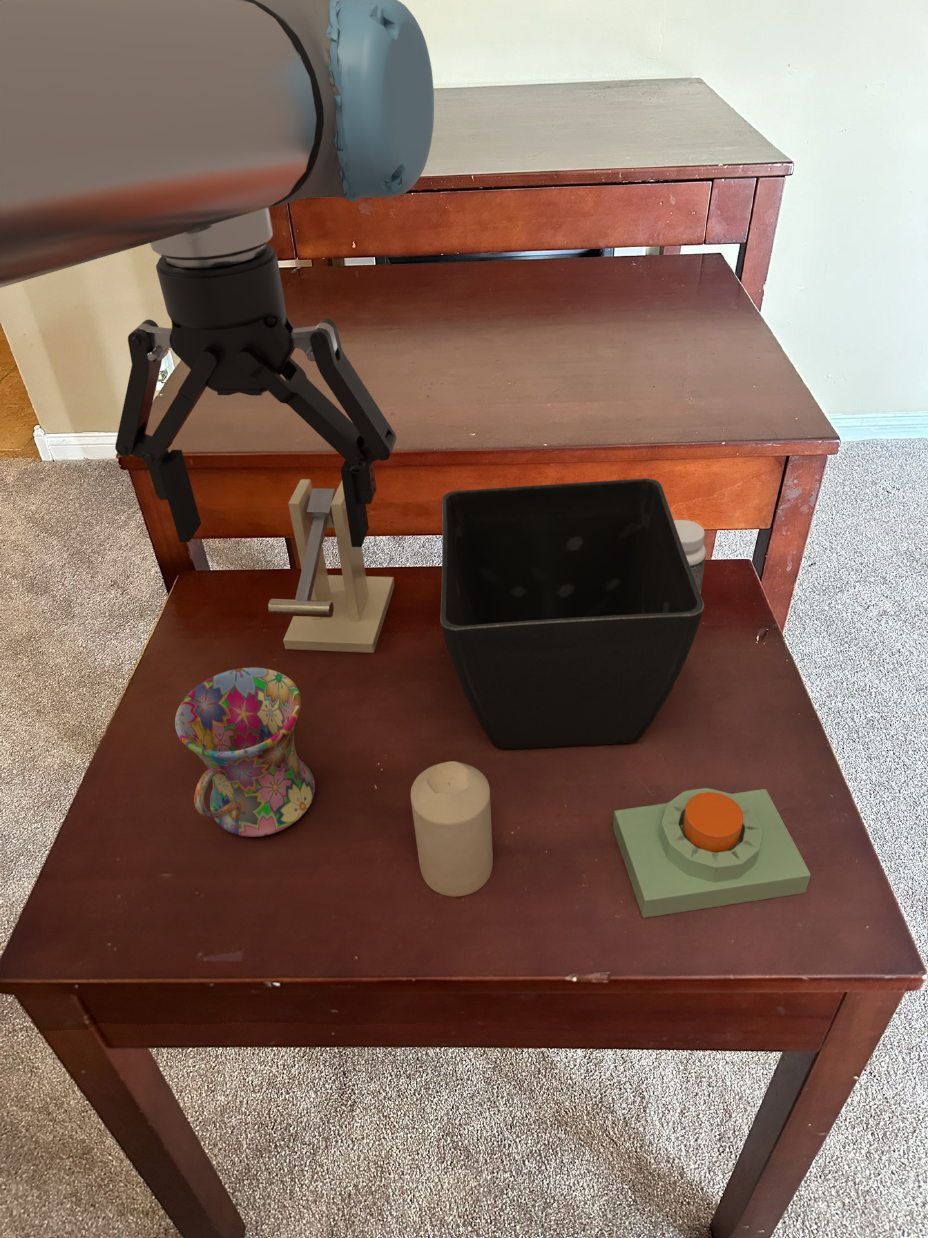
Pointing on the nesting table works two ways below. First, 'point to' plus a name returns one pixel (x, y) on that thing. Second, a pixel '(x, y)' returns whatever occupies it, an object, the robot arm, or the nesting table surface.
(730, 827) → the button
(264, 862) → the nesting table surface
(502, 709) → the flower pot
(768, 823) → the control block
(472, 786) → the candle
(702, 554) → the pill bottle
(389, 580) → the bracket
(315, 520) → the lever
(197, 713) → the mug
